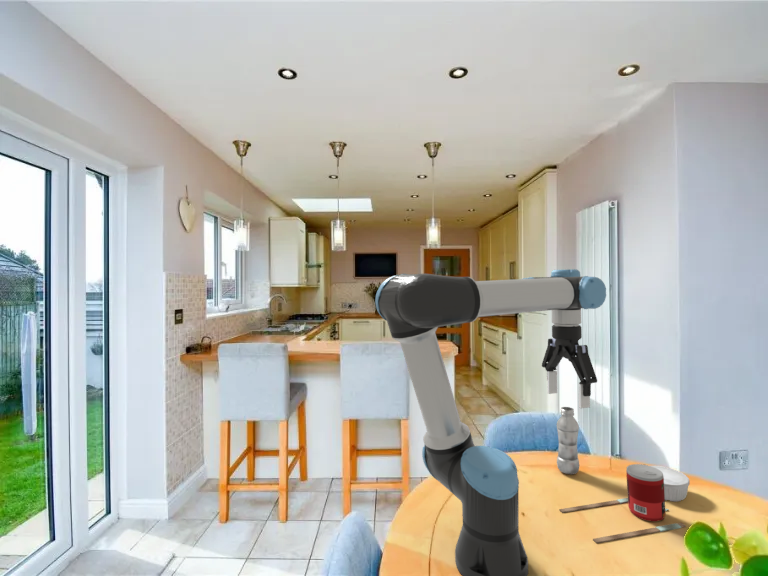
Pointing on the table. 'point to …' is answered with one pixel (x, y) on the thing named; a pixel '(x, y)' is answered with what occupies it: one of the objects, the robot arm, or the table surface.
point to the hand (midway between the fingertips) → (567, 400)
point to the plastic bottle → (567, 442)
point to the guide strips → (628, 534)
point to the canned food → (646, 492)
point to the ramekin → (674, 483)
